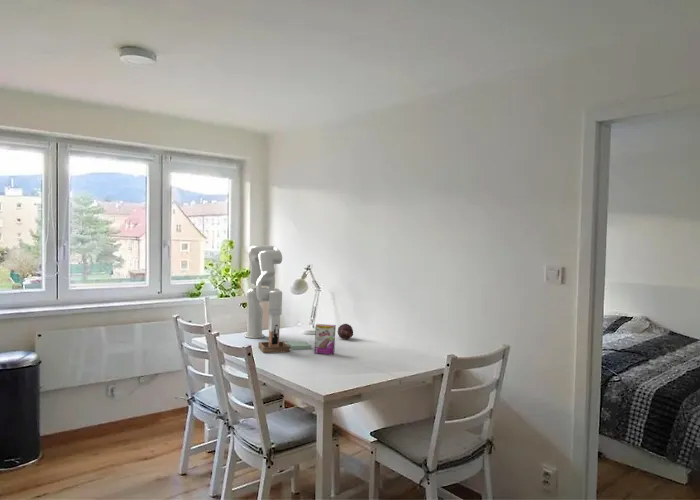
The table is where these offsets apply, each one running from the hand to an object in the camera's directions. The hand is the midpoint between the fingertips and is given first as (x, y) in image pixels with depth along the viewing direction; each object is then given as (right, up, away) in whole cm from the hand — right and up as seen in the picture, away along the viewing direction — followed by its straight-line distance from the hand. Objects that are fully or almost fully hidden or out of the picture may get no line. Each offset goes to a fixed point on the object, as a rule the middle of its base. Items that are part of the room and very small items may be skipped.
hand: (273, 342), depth 303 cm
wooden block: (0, -3, 0) cm, 3 cm away
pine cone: (+41, -5, +39) cm, 57 cm away
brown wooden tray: (0, -4, 0) cm, 4 cm away
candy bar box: (+30, -5, -5) cm, 31 cm away
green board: (+14, -4, +9) cm, 17 cm away
